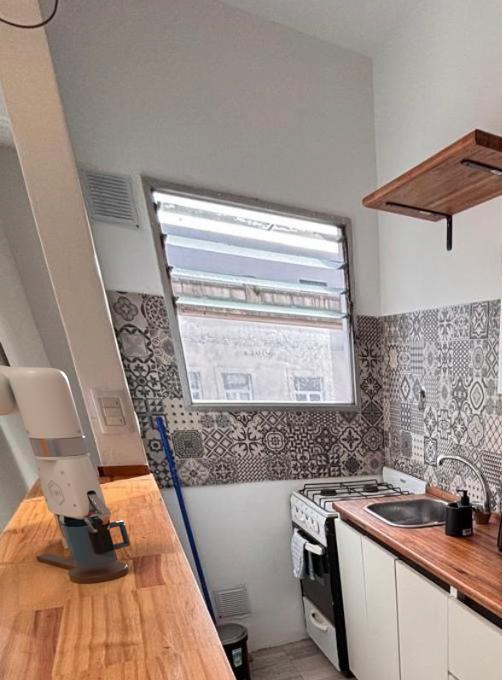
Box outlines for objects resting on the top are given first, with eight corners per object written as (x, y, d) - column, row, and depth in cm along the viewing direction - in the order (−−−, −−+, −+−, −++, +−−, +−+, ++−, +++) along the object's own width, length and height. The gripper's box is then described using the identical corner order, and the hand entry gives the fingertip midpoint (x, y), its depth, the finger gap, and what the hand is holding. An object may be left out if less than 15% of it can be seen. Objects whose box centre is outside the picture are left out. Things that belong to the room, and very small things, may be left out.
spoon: (17, 565, 100) (15, 560, 100) (68, 553, 108) (66, 547, 107) (89, 587, 92) (87, 580, 91) (139, 571, 99) (137, 565, 99)
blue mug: (88, 570, 92) (75, 529, 89) (66, 564, 95) (52, 524, 91) (143, 554, 101) (133, 517, 97) (121, 549, 103) (110, 512, 100)
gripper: (5, 446, 87) (41, 547, 95) (67, 455, 81) (100, 562, 89) (54, 442, 94) (84, 537, 101) (115, 450, 87) (142, 551, 95)
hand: (91, 548), depth 95 cm, fingers closed on blue mug, 6 cm apart
